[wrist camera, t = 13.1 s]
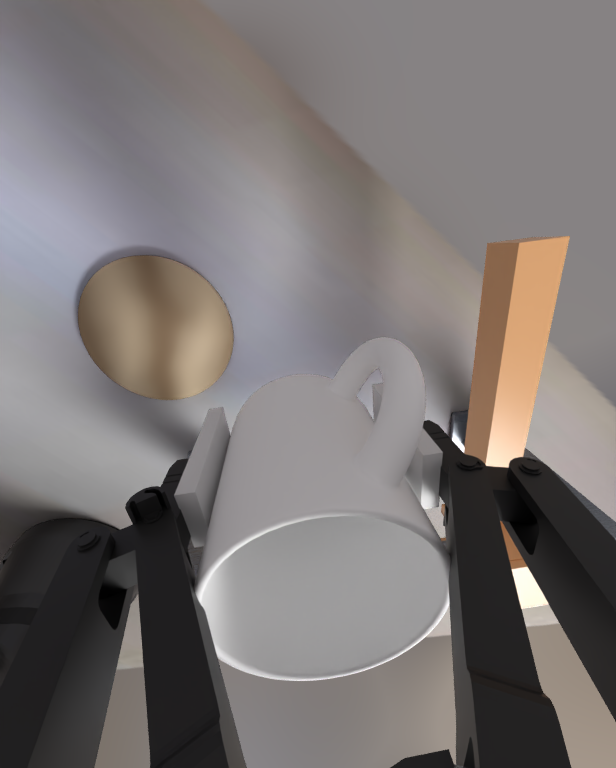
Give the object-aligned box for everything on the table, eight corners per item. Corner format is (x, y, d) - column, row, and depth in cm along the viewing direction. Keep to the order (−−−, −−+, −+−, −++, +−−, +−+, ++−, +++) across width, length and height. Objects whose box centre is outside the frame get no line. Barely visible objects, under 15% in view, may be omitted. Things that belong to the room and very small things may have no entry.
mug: (298, 280, 16) (333, 328, 6) (428, 348, 18) (602, 462, 8) (213, 461, 19) (153, 663, 10) (328, 499, 21) (370, 694, 12)
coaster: (115, 405, 31) (112, 408, 30) (55, 266, 25) (50, 266, 25) (246, 387, 31) (245, 389, 30) (214, 245, 26) (213, 245, 25)
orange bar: (438, 545, 26) (476, 617, 21) (463, 246, 16) (544, 246, 11) (496, 536, 26) (548, 605, 21) (555, 234, 16) (674, 229, 11)
